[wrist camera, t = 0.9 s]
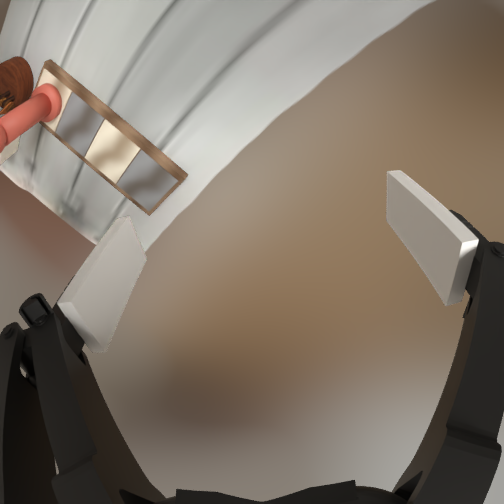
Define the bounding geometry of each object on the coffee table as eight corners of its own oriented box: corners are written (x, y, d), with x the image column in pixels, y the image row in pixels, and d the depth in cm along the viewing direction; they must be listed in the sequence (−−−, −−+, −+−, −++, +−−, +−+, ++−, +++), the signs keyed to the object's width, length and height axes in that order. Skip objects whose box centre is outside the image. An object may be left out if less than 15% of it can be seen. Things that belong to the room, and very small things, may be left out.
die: (2, 136, 45) (-16, 151, 41) (6, 118, 41) (-14, 132, 37) (17, 150, 47) (-1, 166, 43) (21, 132, 44) (1, 147, 40)
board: (32, 108, 39) (27, 112, 38) (50, 59, 32) (43, 62, 31) (152, 210, 53) (148, 216, 52) (188, 174, 46) (184, 179, 45)
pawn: (32, 105, 37) (-32, 153, 26) (42, 76, 33) (-31, 121, 22) (55, 125, 40) (-9, 178, 29) (67, 96, 36) (-6, 147, 25)
